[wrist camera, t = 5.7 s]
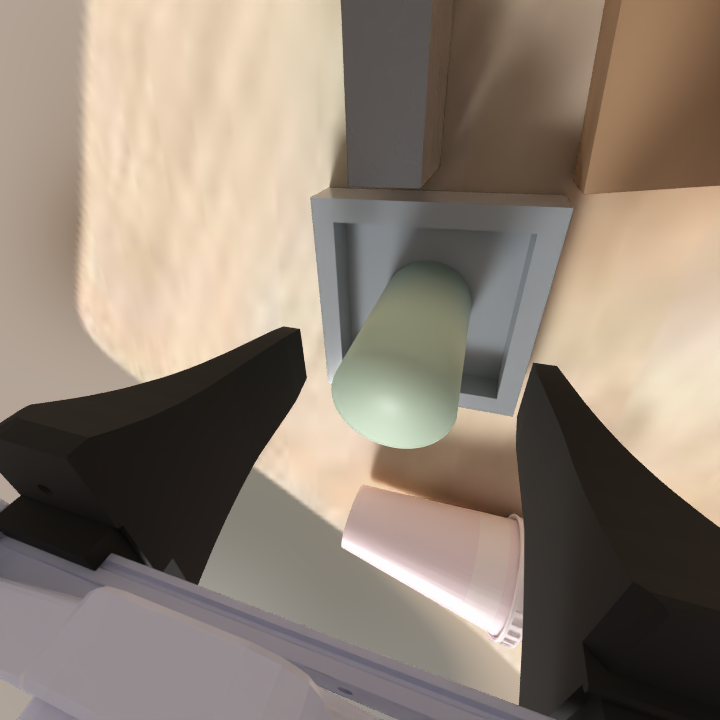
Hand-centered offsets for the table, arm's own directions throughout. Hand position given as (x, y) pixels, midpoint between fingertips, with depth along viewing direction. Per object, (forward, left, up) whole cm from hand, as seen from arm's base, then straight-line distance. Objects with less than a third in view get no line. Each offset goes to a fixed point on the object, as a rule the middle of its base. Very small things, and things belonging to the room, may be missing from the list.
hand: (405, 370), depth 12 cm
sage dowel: (0, 0, -5) cm, 5 cm away
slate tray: (0, 0, -5) cm, 5 cm away
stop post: (+1, -8, -5) cm, 10 cm away
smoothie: (+3, +13, -3) cm, 14 cm away
